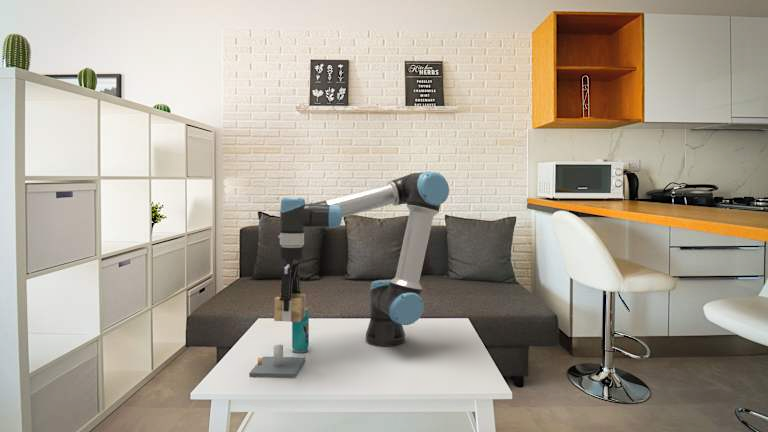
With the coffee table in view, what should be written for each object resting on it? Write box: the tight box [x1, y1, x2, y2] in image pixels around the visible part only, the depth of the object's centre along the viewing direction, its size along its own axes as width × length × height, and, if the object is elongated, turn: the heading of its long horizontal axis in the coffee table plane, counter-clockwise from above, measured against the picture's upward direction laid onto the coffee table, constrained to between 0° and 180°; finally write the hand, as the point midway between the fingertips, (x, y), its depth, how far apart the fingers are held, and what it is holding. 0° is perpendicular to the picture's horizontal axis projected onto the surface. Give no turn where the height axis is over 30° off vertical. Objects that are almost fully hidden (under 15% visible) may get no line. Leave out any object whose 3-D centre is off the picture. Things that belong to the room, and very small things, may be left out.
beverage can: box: [291, 306, 310, 354], centre depth 160 cm, size 6×6×15 cm
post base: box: [248, 344, 306, 379], centre depth 144 cm, size 14×14×7 cm
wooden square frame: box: [273, 293, 307, 323], centre depth 144 cm, size 8×8×7 cm
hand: (290, 317), depth 144 cm, fingers closed on wooden square frame, 8 cm apart
